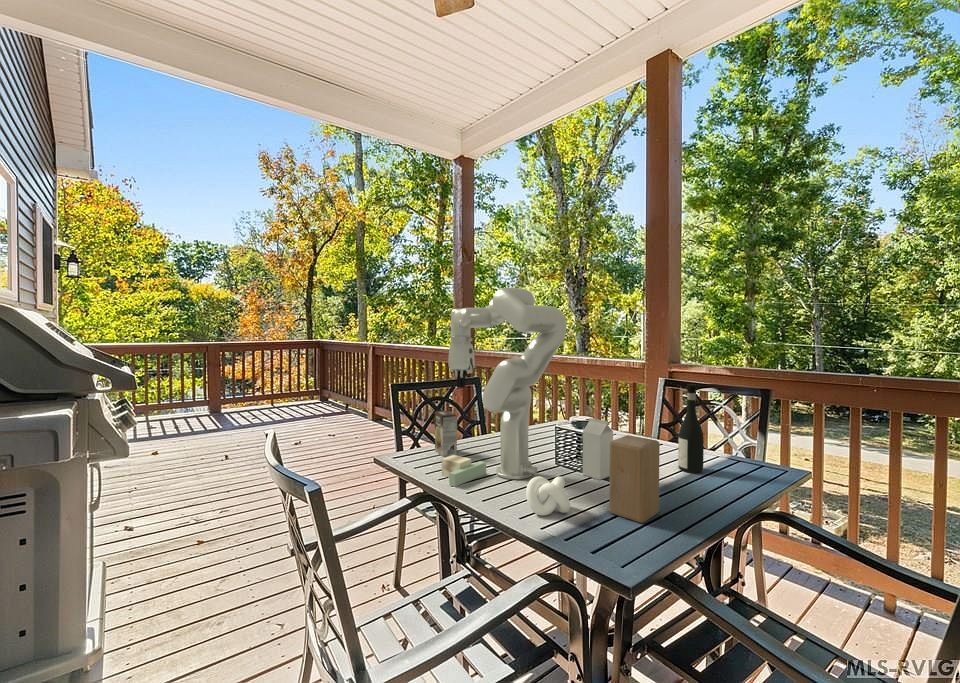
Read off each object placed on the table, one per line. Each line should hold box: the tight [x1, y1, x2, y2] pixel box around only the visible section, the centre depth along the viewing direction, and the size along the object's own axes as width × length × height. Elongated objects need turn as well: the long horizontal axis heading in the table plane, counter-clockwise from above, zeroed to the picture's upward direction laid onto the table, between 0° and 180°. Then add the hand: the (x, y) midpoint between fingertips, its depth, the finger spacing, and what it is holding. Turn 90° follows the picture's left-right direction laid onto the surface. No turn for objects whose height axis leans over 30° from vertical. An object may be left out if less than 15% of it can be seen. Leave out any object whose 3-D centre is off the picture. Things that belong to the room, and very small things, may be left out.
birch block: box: [441, 455, 472, 479], centre depth 155 cm, size 8×6×6 cm
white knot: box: [525, 475, 571, 517], centre depth 126 cm, size 11×12×9 cm
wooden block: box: [608, 434, 660, 524], centre depth 123 cm, size 10×10×20 cm
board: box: [448, 460, 487, 488], centre depth 152 cm, size 2×16×4 cm, turn 141°
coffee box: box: [434, 410, 458, 457], centre depth 182 cm, size 9×6×16 cm
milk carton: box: [582, 417, 614, 481], centre depth 155 cm, size 7×7×19 cm
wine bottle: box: [677, 383, 705, 474], centre depth 159 cm, size 8×8×30 cm
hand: (461, 387), depth 179 cm, fingers closed
